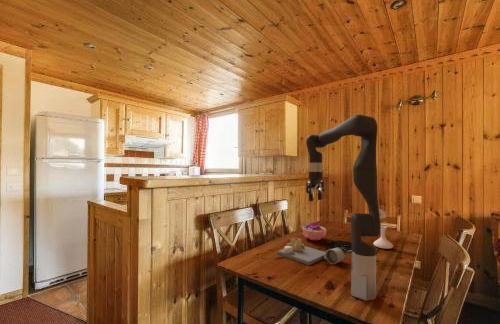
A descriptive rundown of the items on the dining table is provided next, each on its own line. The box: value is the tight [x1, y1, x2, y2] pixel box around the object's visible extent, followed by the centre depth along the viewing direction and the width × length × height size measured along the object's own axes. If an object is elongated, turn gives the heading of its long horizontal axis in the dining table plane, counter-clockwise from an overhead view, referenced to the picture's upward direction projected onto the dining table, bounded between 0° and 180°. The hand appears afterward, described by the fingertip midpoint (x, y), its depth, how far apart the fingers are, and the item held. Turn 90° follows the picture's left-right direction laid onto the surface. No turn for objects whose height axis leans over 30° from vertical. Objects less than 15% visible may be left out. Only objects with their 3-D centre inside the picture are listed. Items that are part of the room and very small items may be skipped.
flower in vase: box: [372, 208, 394, 250], centre depth 162 cm, size 13×11×25 cm
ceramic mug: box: [323, 247, 345, 265], centre depth 136 cm, size 11×8×8 cm
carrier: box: [277, 242, 327, 266], centre depth 144 cm, size 20×22×6 cm
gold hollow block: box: [290, 237, 302, 252], centre depth 148 cm, size 7×7×6 cm
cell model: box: [302, 222, 327, 241], centre depth 177 cm, size 17×20×11 cm
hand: (315, 200), depth 134 cm, fingers open, 8 cm apart
